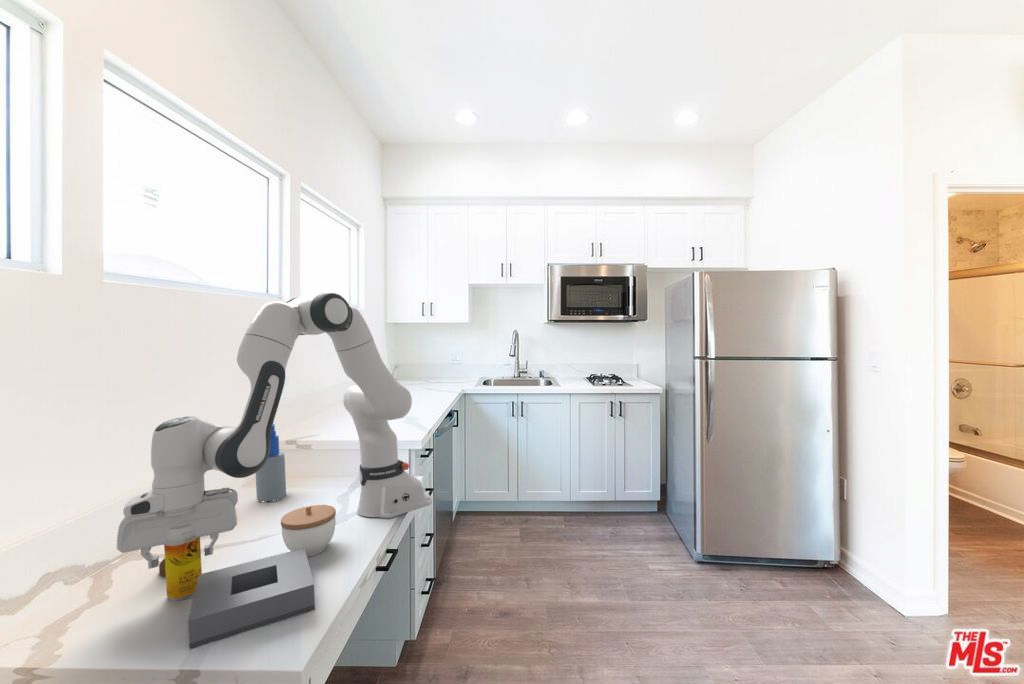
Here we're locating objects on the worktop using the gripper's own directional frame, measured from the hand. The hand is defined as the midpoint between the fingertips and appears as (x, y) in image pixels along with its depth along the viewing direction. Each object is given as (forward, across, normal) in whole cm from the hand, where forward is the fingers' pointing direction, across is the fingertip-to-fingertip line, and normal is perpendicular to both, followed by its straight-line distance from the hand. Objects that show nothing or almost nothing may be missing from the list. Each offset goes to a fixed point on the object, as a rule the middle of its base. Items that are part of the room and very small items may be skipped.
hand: (182, 560), depth 94 cm
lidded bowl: (+7, -25, -6) cm, 27 cm away
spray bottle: (+7, -18, -56) cm, 59 cm away
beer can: (+7, 0, 0) cm, 7 cm away
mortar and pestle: (+7, +3, -14) cm, 16 cm away
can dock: (+7, -13, +13) cm, 20 cm away
